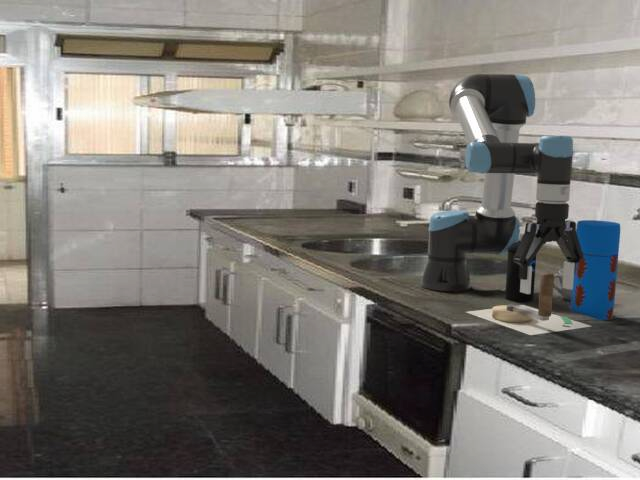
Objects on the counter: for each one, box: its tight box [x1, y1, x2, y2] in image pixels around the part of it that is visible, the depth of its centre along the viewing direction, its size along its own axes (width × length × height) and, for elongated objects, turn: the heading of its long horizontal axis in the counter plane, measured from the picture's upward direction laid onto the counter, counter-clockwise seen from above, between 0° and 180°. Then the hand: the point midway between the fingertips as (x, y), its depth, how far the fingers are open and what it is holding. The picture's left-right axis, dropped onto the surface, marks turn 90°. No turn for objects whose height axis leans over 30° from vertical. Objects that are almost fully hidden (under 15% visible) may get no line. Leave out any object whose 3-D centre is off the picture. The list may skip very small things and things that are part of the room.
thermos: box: [570, 219, 621, 322], centre depth 205 cm, size 11×11×25 cm
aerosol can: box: [504, 232, 537, 303], centre depth 217 cm, size 8×8×20 cm
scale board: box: [465, 304, 592, 336], centre depth 196 cm, size 24×21×2 cm
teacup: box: [553, 268, 572, 301], centre depth 226 cm, size 14×11×8 cm
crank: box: [491, 272, 555, 323], centre depth 192 cm, size 18×10×13 cm, turn 28°
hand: (546, 290), depth 185 cm, fingers open, 13 cm apart
